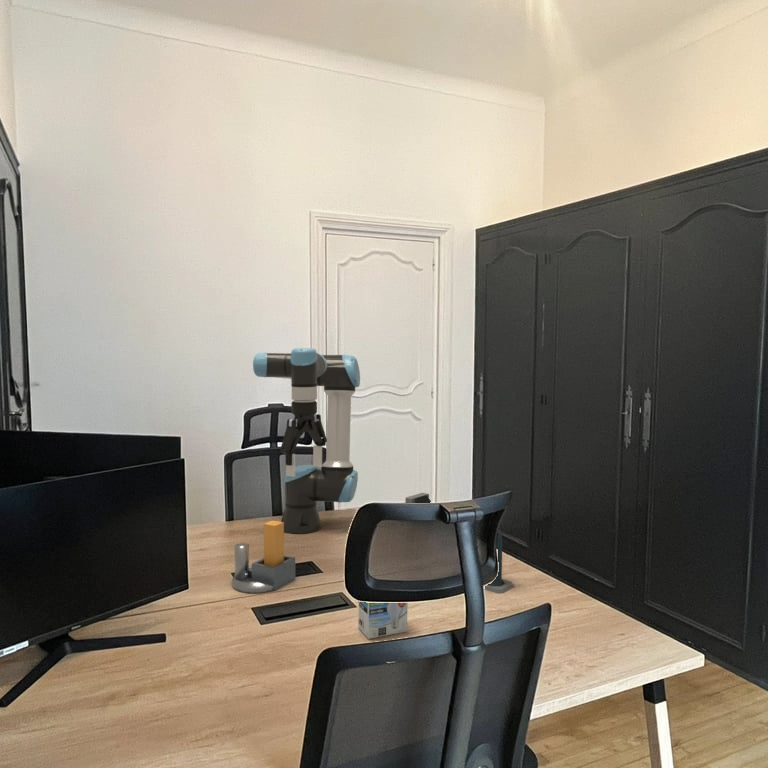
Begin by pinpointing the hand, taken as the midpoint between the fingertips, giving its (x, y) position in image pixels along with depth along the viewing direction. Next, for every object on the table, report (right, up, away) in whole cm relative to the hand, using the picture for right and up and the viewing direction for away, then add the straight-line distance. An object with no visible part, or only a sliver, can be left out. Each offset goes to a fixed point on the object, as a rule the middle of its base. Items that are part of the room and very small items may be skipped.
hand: (304, 471), depth 189 cm
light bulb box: (+23, -34, -35) cm, 54 cm away
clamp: (+46, -32, +2) cm, 56 cm away
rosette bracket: (-12, -31, -6) cm, 34 cm away
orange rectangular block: (-8, -30, -6) cm, 31 cm away
